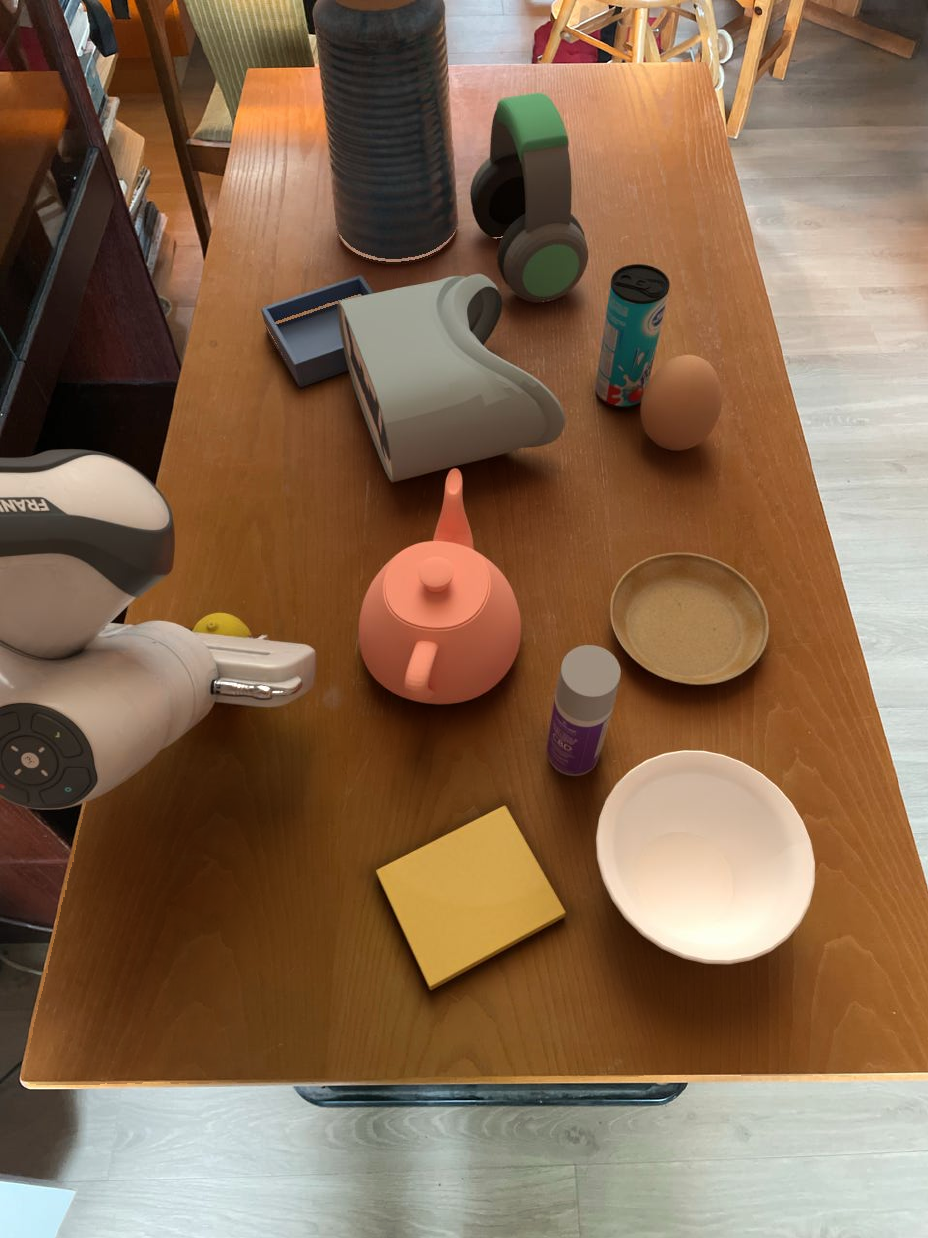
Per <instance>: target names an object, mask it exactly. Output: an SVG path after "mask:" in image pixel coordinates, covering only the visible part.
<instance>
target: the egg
mask: <svg viewBox="0 0 928 1238" xmlns="http://www.w3.org/2000/svg"><path fill="white" fill-rule="evenodd" d="M720 382H721V381H720V378H719V377H718V374H717V372H716V370H715V369H714V367H713V365H711V364H710V363H709V362H708V361H707V360H706V359H705V358H703V357H700V356H698V355H693V354H684V355H678V356H675V357H673V358H671V359H669V360H668V361H666V362H664V364H662V365H661V366H660V367H658V369H657V370H656V371H655V373H653V375H652V376H650V378H649V382H648V384H647V385H646V388H645V391H644V393H643V397H642V401H641V402H640V420H641V423H642V427H643V429H644V431H645V433H646V434H647V436H648V437H649V439H650V440H651V441H653V442H654V443H655V444H656V445H658V446H659V447H660V448H662V449H666V450H670V451H685V450H688V449H691V448H694V447H695V446H697V445H698V444H700V443H702V442H703V441H704V440H706V439H707V437H708V436H709V435H710V434H711V433H712V432H713V430H714V429H715V427H716V425H717V423H718V421H719V418H720V414H721V411H722V407H723V390H722V386H721V383H720Z"/></svg>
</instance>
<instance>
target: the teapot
mask: <svg viewBox="0 0 928 1238" xmlns="http://www.w3.org/2000/svg"><path fill="white" fill-rule="evenodd" d="M474 548H475V547H474V539H473V533H472V529H471V526H470V524H469V520H468V517H467V514H466V510H465V506H464V500H463V475H462V472H461V471H460V470H459V468H456V467H455V468H454V467H453V468H452V469H450V471H448V474H447V476H446V479H445V484H444V496H443V502H442V507H441V511H440V514H439V518H438V521H437V524H436V527H435V531H434V534H433V540H429V541H423V542H418V543H415V544H413V545H410V546H408V547H406V548H404V549H403V550H401V551H400V552H398V553H397V554H395V555H394V556H393V557H392V558H391V559H390V560H389V561H388V562H387V563H386V564H385V565H384V566H383V567H382V568H381V569H380V571H378V573H377V574H376V575H375V577H374V578H373V580H372V581H371V583H370V585H369V587H368V589H367V591H366V593H365V596H364V598H363V602H362V604H361V609H360V613H359V618H358V633H357V634H358V642H359V650H360V654H361V657H362V660H363V662H364V665H365V667H366V668H367V670H368V671H369V673H370V675H371V676H372V677H373V678H374V679H375V680H376V681H377V682H378V683H379V684H380V685H382V687H384V688H385V689H387V690H388V691H390V692H391V693H393V694H395V695H396V696H399V697H401V698H404V699H407V700H410V701H413V702H417V703H423V704H429V705H431V704H432V705H452V704H458V703H464V702H467V701H471V700H473V699H476V698H478V697H480V696H482V695H483V694H485V693H487V692H489V691H490V690H491V689H493V688H494V687H495V686H496V685H497V684H498V683H499V682H500V681H501V680H502V679H503V678H504V677H506V675H507V673H508V672H509V670H510V669H511V668H512V666H513V663H514V662H515V659H516V657H517V654H518V652H519V648H520V644H521V638H522V637H521V636H522V620H521V614H520V609H519V604H518V601H517V599H516V597H515V596H516V595H515V593H514V591H513V588H512V586H511V585H510V583H509V581H508V580H507V578H506V576H505V575H504V574H503V573H502V571H501V570H500V569H499V568H498V567H497V566H496V565H495V564H494V563H493V562H492V561H490V559H488V558H487V557H485V556H484V555H483V554H481V553H479V551H476V550H475V549H474Z"/></svg>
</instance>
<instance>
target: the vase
mask: <svg viewBox="0 0 928 1238" xmlns="http://www.w3.org/2000/svg"><path fill="white" fill-rule="evenodd" d="M312 18H313V24H314V32H315V40H316V49H317V59H318V68H319V78H320V88H321V96H322V104H323V105H322V106H323V115H324V121H325V122H324V123H325V132H326V140H327V141H326V142H327V149H328V151H327V152H328V165H329V173H330V174H329V175H330V182H331V193H332V196H333V197H332V198H333V199H332V201H333V209H334V218H335V227H336V226H337V229H336V231H337V230H338V232H339V234H340V235H341V236H342V238H343V239H344V240H345V241H346V242H347V243H348V244H349V245H350V246H351V247H353V248H355V249H356V250H358V251H360V252H362V253H365V254H368V255H371V256H375V257H377V258H385V259H402V258H408V257H415V256H419V255H422V254H426V253H428V252H430V251H432V250H434V249H436V248H437V247H439V246H440V245H442V244H443V243H444V242H446V241H447V240H448V239H449V238H450V237H451V236H452V235H453V233H454V232H455V230H456V227H457V228H458V225H459V215H458V197H457V188H456V187H457V180H456V164H455V149H454V140H453V125H452V124H453V123H452V109H451V106H452V105H451V93H450V91H451V90H450V74H449V63H448V62H449V58H448V57H449V55H448V43H447V42H448V40H447V39H448V38H447V24H446V3H445V1H444V0H316V2H315V3H314V5H313V8H312ZM457 224H458V225H457ZM456 231H457V230H456ZM338 232H337V233H338ZM455 233H456V232H455ZM451 241H452V239H451V240H450V241H449V242H448V243H447V244H446V245H445V246H444V247H443V248H441V249H440V250H438V251H436V252H434V253H432V254H430V255H428V256H425V257H422V258H419V259H415V260H409V261H401V262H386V261H378V260H373V259H369V258H366V257H363V256H361V255H358V254H356V253H355V252H353V251H351V252H352V253H353V254H355V255H357V256H358V257H360V258H362V259H364V260H367V261H369V262H373V263H376V264H377V263H378V264H384V265H406V264H412V263H417V262H421V261H424V260H425V259H428V258H430V257H432V256H434V255H436V254H437V253H439V252H441V251H442V250H443V249H444V248H445V247H446V246H447V245H448V244H450V242H451Z"/></svg>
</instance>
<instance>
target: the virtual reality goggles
mask: <svg viewBox="0 0 928 1238" xmlns="http://www.w3.org/2000/svg"><path fill="white" fill-rule="evenodd" d="M337 309H338V319H339V326H340V332H341V338H342V343H343V348H344V352H345V356H346V360H347V364H348V368H349V370H348V371H349V375H350V379H351V381H352V386H353V388H354V391H355V394H356V397H357V400H358V403H359V405H360V409H361V411H362V414H363V417H364V419H365V422H366V425H367V427H368V431H369V433H370V436H371V439H372V441H373V444H374V447H375V449H376V452H377V454H378V457H379V459H380V462H381V464H382V467H383V469H384V471H385V473H386V475H387V478H388V479H389V481H390V482H391V483H396V482H399V481H404V480H408V479H411V478H415V477H419V476H422V475H426V474H430V473H433V472H438V471H441V470H445V469H449V468H454V467H458V466H461V465H466V464H470V463H473V462H474V463H475V462H478V461H483V460H485V459H489V458H493V457H494V458H495V457H497V456H501V455H504V454H507V453H508V454H509V453H510V452H515V451H518V450H520V449H524V448H525V449H526V448H535V447H536V448H537V447H542V446H545V445H549V444H552V443H554V442H555V441H557V440H558V439H559V438H560V437H561V435H562V433H563V431H564V428H565V426H566V415H565V411H564V409H563V407H562V404H561V403H560V401H559V400H558V398H557V397H556V396H555V395H554V393H553V392H552V391H551V390H550V389H549V388H548V387H547V386H546V385H545V384H544V383H543V382H542V381H540V379H538V378H537V377H534V376H533V375H532V374H530V373H529V372H527V371H525V370H523V369H522V368H520V367H519V366H516V365H514V364H513V363H511V362H509V361H507V360H506V359H503V358H502V357H500V356H498V355H497V354H495V353H493V352H491V351H490V350H488V348H486V347H485V345H486V343H487V342H488V340H489V339H490V337H491V336H492V334H493V332H494V330H495V328H496V327H497V325H498V323H499V321H500V318H501V315H502V311H503V298H502V295H501V293H500V291H499V289H498V287H497V285H496V283H494V282H493V281H492V280H491V279H490V278H489V277H488V276H486V275H484V274H482V273H474V274H471V275H469V276H463V275H454V276H448V277H444V278H442V279H438V280H435V281H430V282H423V283H418V284H413V285H408V286H403V287H402V286H401V287H397V288H393V289H387V290H383V291H379V292H374V294H369V295H364V296H359V297H355V298H350V299H346V300H341V301H338V306H337Z"/></svg>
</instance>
